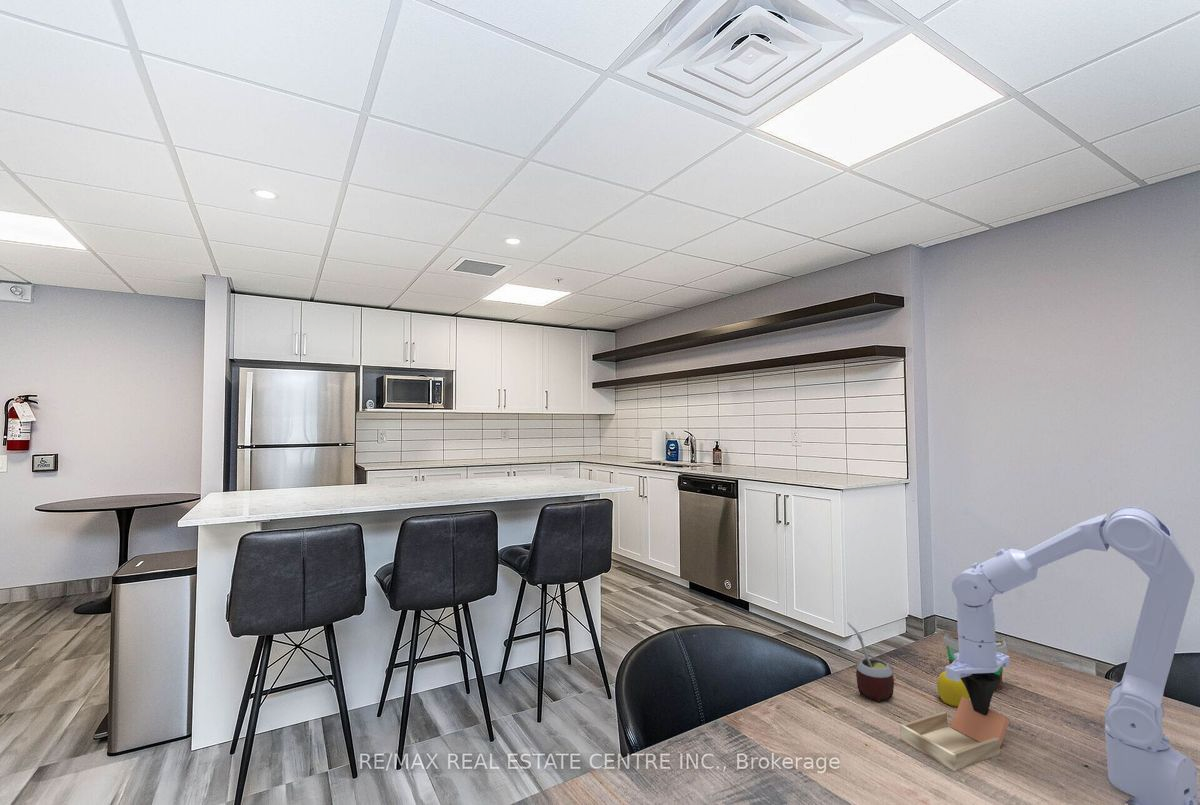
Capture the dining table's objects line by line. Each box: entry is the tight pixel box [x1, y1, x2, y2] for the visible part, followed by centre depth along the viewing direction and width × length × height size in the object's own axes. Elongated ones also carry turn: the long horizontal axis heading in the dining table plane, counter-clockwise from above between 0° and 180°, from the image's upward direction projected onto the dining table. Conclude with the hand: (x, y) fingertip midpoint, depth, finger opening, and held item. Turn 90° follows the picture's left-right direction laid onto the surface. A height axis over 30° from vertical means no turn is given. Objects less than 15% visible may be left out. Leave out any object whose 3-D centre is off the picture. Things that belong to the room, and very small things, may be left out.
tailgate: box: [950, 697, 1011, 747], centre depth 100 cm, size 1×8×6 cm
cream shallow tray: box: [899, 710, 1001, 772], centre depth 96 cm, size 10×11×4 cm
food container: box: [942, 633, 1008, 691], centre depth 120 cm, size 12×6×10 cm, turn 73°
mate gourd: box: [846, 622, 895, 703], centre depth 116 cm, size 8×8×15 cm
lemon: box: [936, 670, 970, 708], centre depth 111 cm, size 6×6×8 cm
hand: (980, 712), depth 100 cm, fingers closed, pressing on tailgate
